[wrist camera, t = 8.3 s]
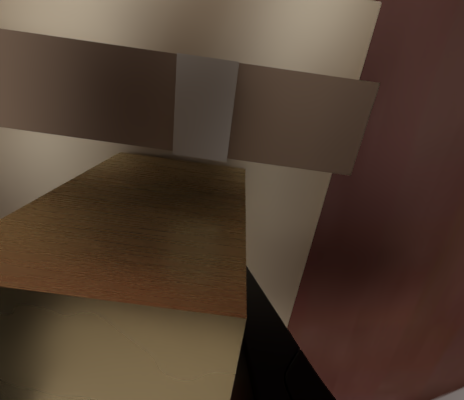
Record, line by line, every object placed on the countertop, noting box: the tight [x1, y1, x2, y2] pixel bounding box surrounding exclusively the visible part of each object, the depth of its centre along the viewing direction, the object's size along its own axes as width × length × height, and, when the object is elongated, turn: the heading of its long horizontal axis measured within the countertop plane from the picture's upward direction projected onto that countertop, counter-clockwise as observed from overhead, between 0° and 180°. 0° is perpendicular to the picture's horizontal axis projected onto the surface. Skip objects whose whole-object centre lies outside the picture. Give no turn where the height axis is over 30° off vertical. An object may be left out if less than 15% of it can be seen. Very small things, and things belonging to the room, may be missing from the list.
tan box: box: [0, 152, 247, 400], centre depth 8 cm, size 4×10×6 cm, turn 172°
